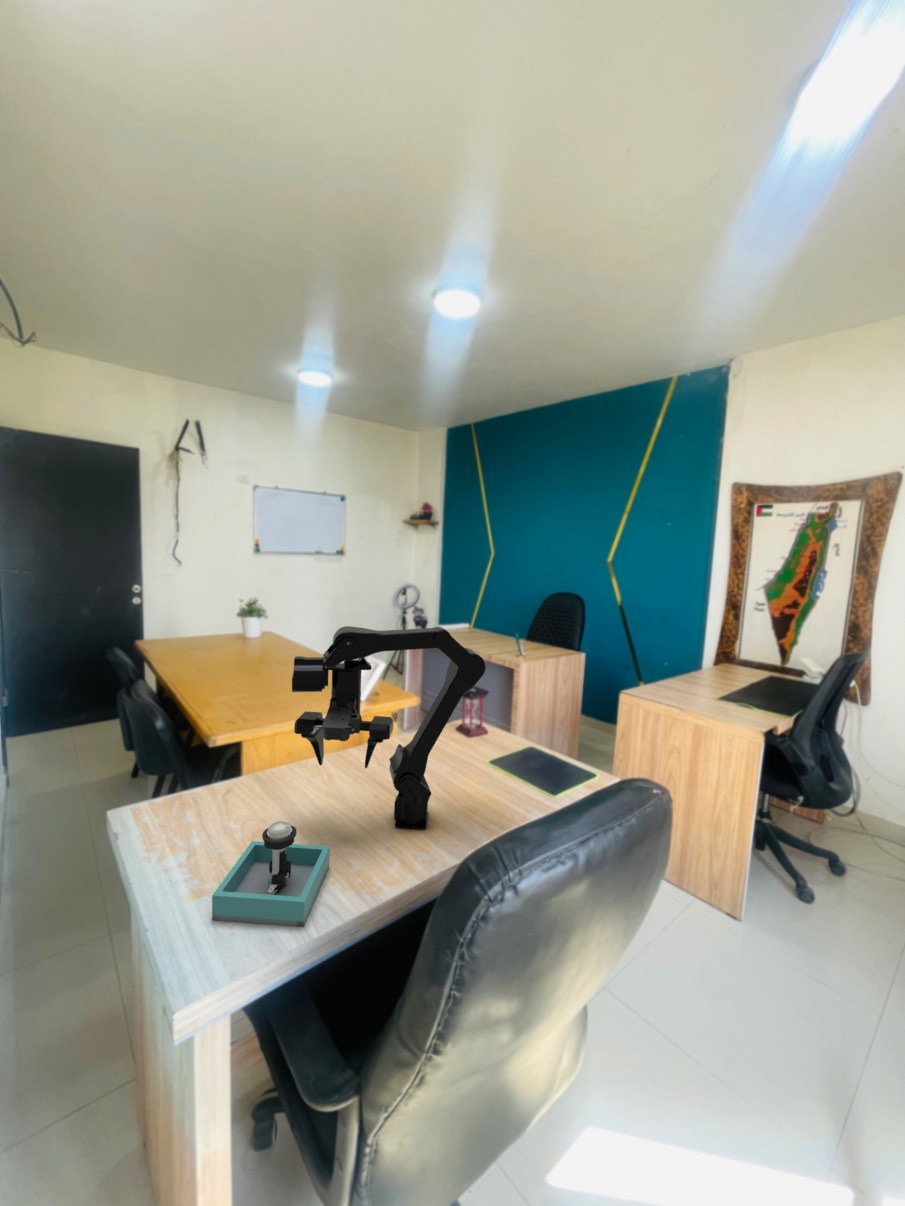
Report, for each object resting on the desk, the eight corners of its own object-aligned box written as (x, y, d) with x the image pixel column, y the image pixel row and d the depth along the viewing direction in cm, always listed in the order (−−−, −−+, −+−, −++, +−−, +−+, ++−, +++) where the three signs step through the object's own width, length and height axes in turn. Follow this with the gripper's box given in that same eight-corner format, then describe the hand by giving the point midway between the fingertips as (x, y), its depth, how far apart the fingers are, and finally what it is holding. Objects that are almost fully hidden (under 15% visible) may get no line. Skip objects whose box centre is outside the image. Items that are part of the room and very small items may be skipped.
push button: (285, 901, 79) (287, 842, 78) (252, 899, 79) (253, 840, 78) (299, 874, 86) (301, 819, 85) (269, 872, 86) (270, 817, 85)
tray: (329, 867, 89) (329, 846, 89) (303, 926, 75) (304, 902, 75) (251, 862, 89) (252, 841, 89) (212, 919, 76) (212, 895, 75)
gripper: (284, 700, 91) (283, 781, 93) (386, 706, 91) (382, 788, 92) (304, 683, 102) (302, 756, 104) (395, 689, 102) (392, 762, 103)
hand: (343, 766), depth 101 cm, fingers open, 9 cm apart
